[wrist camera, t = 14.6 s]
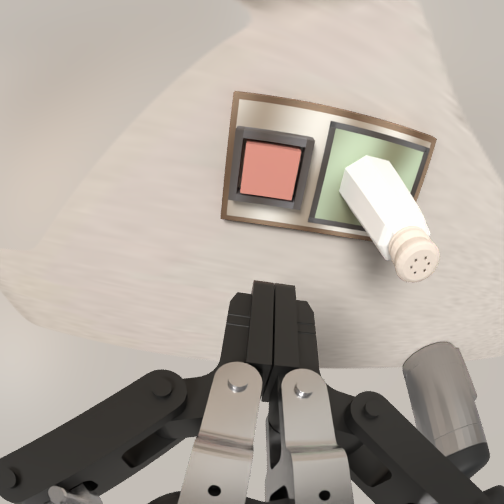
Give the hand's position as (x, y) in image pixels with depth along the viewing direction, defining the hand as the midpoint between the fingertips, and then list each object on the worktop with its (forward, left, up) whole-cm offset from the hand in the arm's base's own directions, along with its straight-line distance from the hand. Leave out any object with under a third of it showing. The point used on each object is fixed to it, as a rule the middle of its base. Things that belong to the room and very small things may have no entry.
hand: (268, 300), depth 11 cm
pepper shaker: (-8, 0, -15) cm, 17 cm away
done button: (0, 0, -15) cm, 15 cm away
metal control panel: (-5, 0, -16) cm, 17 cm away
